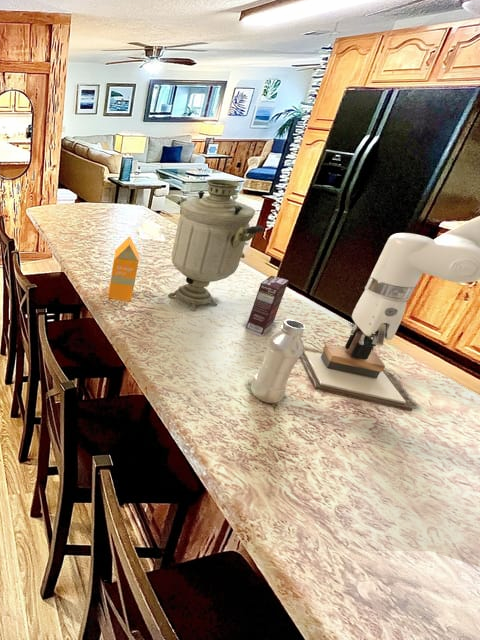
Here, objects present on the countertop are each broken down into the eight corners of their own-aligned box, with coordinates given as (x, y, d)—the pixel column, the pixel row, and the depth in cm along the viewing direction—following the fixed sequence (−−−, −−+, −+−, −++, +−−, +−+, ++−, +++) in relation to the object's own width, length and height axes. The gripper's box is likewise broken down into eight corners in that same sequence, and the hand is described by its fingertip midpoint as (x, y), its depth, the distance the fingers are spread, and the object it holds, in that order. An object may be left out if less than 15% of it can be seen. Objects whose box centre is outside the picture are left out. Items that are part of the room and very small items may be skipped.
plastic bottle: (279, 393, 91) (311, 321, 82) (281, 411, 85) (315, 336, 77) (248, 383, 94) (275, 312, 85) (248, 400, 88) (277, 327, 80)
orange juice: (107, 298, 132) (116, 243, 123) (109, 286, 139) (117, 234, 130) (131, 301, 130) (142, 246, 121) (131, 290, 137) (141, 237, 128)
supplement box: (254, 320, 120) (271, 274, 113) (272, 327, 117) (290, 280, 110) (243, 330, 115) (260, 282, 108) (261, 337, 112) (279, 288, 105)
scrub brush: (368, 366, 98) (386, 333, 94) (378, 379, 94) (397, 345, 89) (319, 356, 102) (334, 324, 97) (326, 368, 97) (342, 335, 93)
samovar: (266, 325, 118) (316, 195, 100) (181, 324, 117) (216, 193, 100) (216, 282, 144) (248, 173, 127) (147, 281, 144) (169, 172, 126)
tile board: (379, 368, 100) (381, 364, 99) (411, 411, 86) (414, 406, 86) (297, 351, 106) (299, 347, 105) (315, 389, 92) (317, 384, 92)
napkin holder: (138, 229, 200) (140, 218, 197) (161, 230, 198) (163, 220, 195) (141, 238, 187) (143, 227, 184) (165, 240, 185) (168, 229, 182)
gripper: (430, 307, 80) (389, 377, 88) (392, 276, 93) (360, 339, 101) (384, 300, 82) (349, 369, 90) (354, 271, 96) (325, 333, 104)
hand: (355, 353), depth 96 cm, fingers closed on scrub brush, 2 cm apart
